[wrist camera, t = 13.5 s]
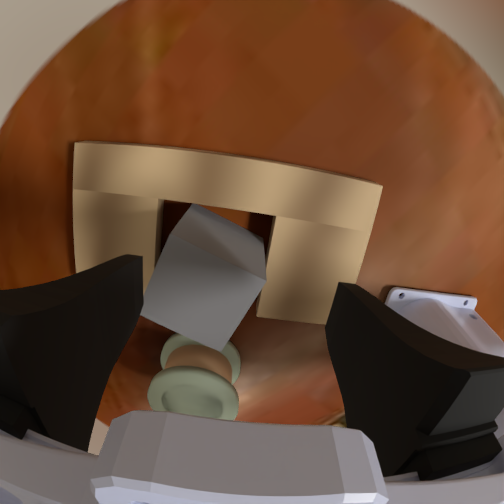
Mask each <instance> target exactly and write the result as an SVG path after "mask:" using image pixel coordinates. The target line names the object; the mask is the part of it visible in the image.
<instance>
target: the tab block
mask: <svg viewBox="0 0 504 504" xmlns="http://www.w3.org/2000/svg"><path fill="white" fill-rule="evenodd" d="M266 281H267V278H266V265H265V253H264V241H263V238H262V237H260V236H258V235H256V234H254V233H252V232H250V231H249V230H247V229H245V228H243V227H241V226H239V225H237V224H235V223H233V222H231V221H229V220H227V219H225V218H223V217H221V216H219V215H217V214H215V213H213V212H211V211H209V210H207V209H205V208H203V207H201V206H199V205H197V204H194V203H193V204H192V205H191V206H190V208H189V209H188V210H187V212H186V213H185V214H184V216H183V217H182V218H181V220H180V221H179V222H178V224H177V225H176V226H175V228H174V229H173V230H172V232H171V233H170V235H169V237H168V239H167V242H166V244H165V246H164V248H163V251H162V253H161V255H160V257H159V260H158V262H157V264H156V267H155V269H154V271H153V274H152V276H151V279H150V281H149V283H148V286H147V288H146V291H145V293H144V295H143V297H144V305H143V307H142V310H141V313H140V315H142V316H144V317H146V318H148V319H150V320H152V321H154V322H156V323H158V324H160V325H162V326H164V327H166V328H168V329H170V330H173V331H175V332H177V333H179V334H181V335H183V336H186V337H188V338H190V339H192V340H194V341H197V342H199V343H201V344H204V345H206V346H208V347H210V348H213V349H215V350H217V351H220V352H221V351H222V349H223V348H224V346H225V345H226V343H227V342H228V340H229V339H230V337H231V336H232V334H233V333H234V331H235V330H236V328H237V327H238V325H239V323H240V322H241V320H242V319H243V317H244V316H245V314H246V313H247V311H248V310H249V308H250V306H251V305H252V303H253V302H254V300H255V299H256V297H257V296H258V294H259V292H260V291H261V289H262V288H263V286H264V285H265V283H266Z"/></svg>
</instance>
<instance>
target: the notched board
mask: <svg viewBox="0 0 504 504" xmlns="http://www.w3.org/2000/svg"><path fill="white" fill-rule="evenodd" d="M382 188H383V186H382V185H380V184H378V183H376V182H374V181H370V180H365V179H361V178H357V177H353V176H348V175H344V174H339V173H335V172H330V171H325V170H321V169H316V168H311V167H306V166H300V165H295V164H290V163H284V162H279V161H273V160H267V159H261V158H255V157H248V156H242V155H235V154H228V153H221V152H213V151H205V150H197V149H189V148H179V147H170V146H159V145H148V144H135V143H120V142H101V141H82V142H76V143H75V147H74V165H73V232H74V251H75V264H76V273H79V272H81V271H84V270H87V269H89V268H92V267H94V266H97V265H99V264H101V263H104V262H106V261H109V260H111V259H113V258H116V257H119V256H122V255H125V254H132V255H138V256H143V295H144V293H145V291H146V288H147V286H148V283H149V281H150V279H151V276H152V274H153V271H154V269H155V267H156V264H157V262H158V260H159V257H160V255H161V237H162V222H163V208H164V200H172V201H179V202H187V203H194V204H201V205H208V206H215V207H222V208H229V209H236V210H242V211H249V212H255V213H261V214H268V215H274V216H273V221H272V226H271V232H270V237H269V242H268V247H267V253H266V258H265V265H266V278H267V281H266V283H265V285H264V286H263V288H262V289H261V291H260V292H259V294H258V299H257V304H256V317H263V318H271V319H279V320H287V321H296V322H305V323H314V324H324V325H326V322H327V319H328V316H329V313H330V309H331V306H332V303H333V299H334V296H335V293H336V289H337V286H338V282H345V283H354V284H355V283H356V280H357V277H358V274H359V271H360V267H361V264H362V261H363V258H364V254H365V251H366V248H367V244H368V241H369V237H370V234H371V230H372V226H373V223H374V219H375V215H376V212H377V208H378V204H379V200H380V196H381V192H382Z"/></svg>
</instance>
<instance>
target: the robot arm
mask: <svg viewBox="0 0 504 504" xmlns="http://www.w3.org/2000/svg"><path fill="white" fill-rule="evenodd" d="M401 293H403V294H402V295H401V296H399V295H400V294H401ZM476 304H477V299H476V298H475V297H472V296H464V295H455V294H447V293H439V292H431V291H423V290H416V289H408V288H400V287H394V288H392V289H391V290H390V291H389V294H388V296H387V299H386V302H385V304H384V303H383V302H381V301H380V300H378V299H377V298H376V297H374V296H373V295H371V294H370V293H369V292H367V291H366V290H364V289H363V288H361V287H360V286H358V285H356V284H354V283H345V282H338V286H337V289H336V293H335V296H334V299H333V303H332V306H331V309H330V313H329V316H328V319H327V322H326V326H325V331H326V339H327V345H328V350H329V354H330V357H331V361H332V364H333V367H334V371H335V374H336V377H337V381H338V384H339V388H340V391H341V394H342V399H343V403H344V409H345V416H346V423H347V428H344V427H337V426H331V425H290V424H269V423H255V422H244V421H233V420H224V419H216V418H208V417H201V416H195V415H188V414H182V413H176V412H171V411H148V410H135V411H131V412H129V413H127V414H124V415H122V416H120V417H117V418H115V419H113V420H112V422H111V425H110V427H109V430H108V433H107V435H106V438H105V441H104V443H103V446H102V448H101V451H100V454H99V455H94V454H91V453H88V447H89V442H90V438H91V433H92V430H93V426H94V422H95V418H96V415H97V411H98V408H99V405H100V401H101V398H102V395H103V392H104V389H105V387H106V384H107V381H108V378H109V376H110V373H111V371H112V369H113V367H114V365H115V363H116V361H117V359H118V357H119V356H120V354H121V352H122V350H123V348H124V346H125V344H126V343H127V341H128V339H129V337H130V335H131V333H132V332H133V330H134V328H135V326H136V324H137V321H138V318H139V316H140V313H141V310H142V307H143V305H144V297H143V256H138V255H132V254H125V255H122V256H119V257H116V258H113V259H111V260H109V261H106V262H104V263H101V264H99V265H97V266H94V267H92V268H89V269H87V270H84V271H81V272H79V273H76V274H73V275H71V276H68V277H65V278H62V279H59V280H55V281H52V282H48V283H44V284H40V285H34V286H29V287H24V288H18V289H9V290H0V504H504V342H503V341H502V340H501V339H500V338H499V336H498V335H497V334H496V333H495V332H494V331H493V330H492V329H491V328H490V326H489V325H488V324H487V323H486V322H485V321H484V320H483V319H482V318H481V317H480V316H479V315H478V314H477V313H476V312H475V310H474V308H475V306H476Z"/></svg>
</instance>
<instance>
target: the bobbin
mask: <svg viewBox="0 0 504 504" xmlns="http://www.w3.org/2000/svg"><path fill="white" fill-rule="evenodd" d="M160 360H161V366H162V368H163V370H162V371H160V372H159V373H157V374H156V375H155V376H154V378H153V379H152V381H151V384H150V387H149V389H148V401H149V404H150V406H151V408H152V409H153V410H154V411H171V412H176V413H182V414H188V415H195V416H201V417H208V418H216V419H224V420H234V419H235V418H236V416H237V413H238V406H239V398H238V394H237V391H236V389H235V388H234V386H233V385H232V384H233V383H234V382H235V381H236V380H237V378H238V376H239V374H240V364H241V360H240V355H239V352H238V350H237V349H236V347H235V346H234V345H233V343H232V342H231V341H229V340H228V342H227V343H226V345H225V346H224V348H223V349H222V351H221V352H220V351H217V350H215V349H213V348H210V347H208V346H206V345H204V344H201V343H199V342H197V341H194V340H192V339H190V338H188V337H186V336H183V335H181V334H179V333H175V334H173V335H172V336H170V337H169V338H168V340H167V341H166V342H165V344H164V347H163V350H162V352H161V358H160Z"/></svg>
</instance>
